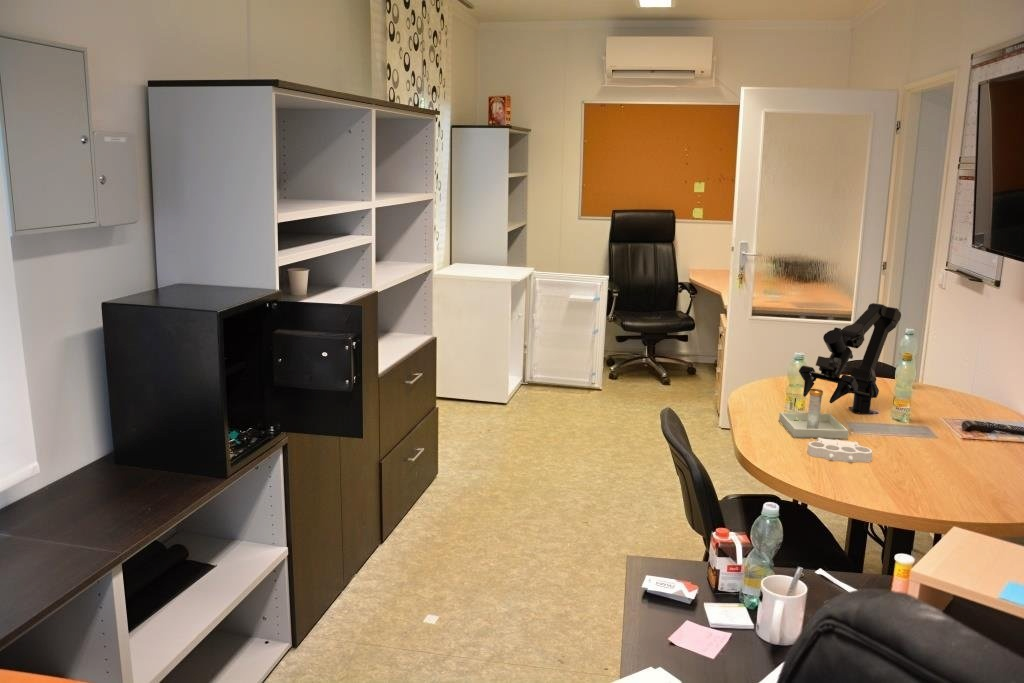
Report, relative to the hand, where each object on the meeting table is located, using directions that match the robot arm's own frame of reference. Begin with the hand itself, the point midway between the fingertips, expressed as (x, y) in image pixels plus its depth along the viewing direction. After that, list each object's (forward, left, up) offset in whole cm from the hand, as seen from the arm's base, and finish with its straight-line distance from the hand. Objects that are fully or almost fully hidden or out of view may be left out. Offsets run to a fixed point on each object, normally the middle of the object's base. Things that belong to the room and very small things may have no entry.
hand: (816, 399), depth 266 cm
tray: (+1, -1, -10) cm, 10 cm away
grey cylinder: (+1, -1, -10) cm, 10 cm away
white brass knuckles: (+23, 0, -11) cm, 25 cm away
